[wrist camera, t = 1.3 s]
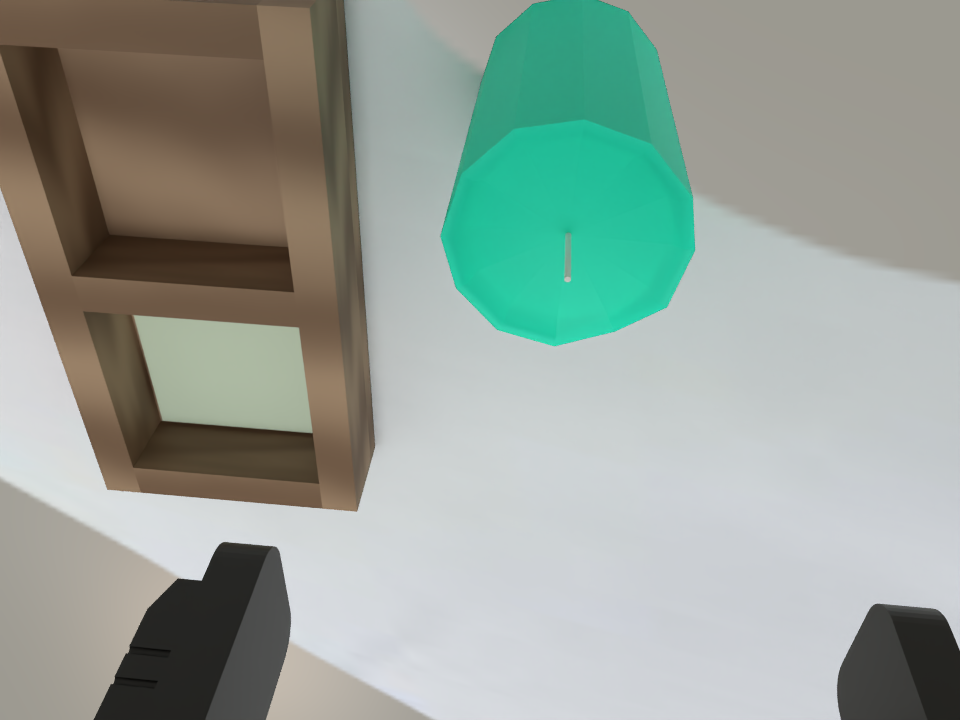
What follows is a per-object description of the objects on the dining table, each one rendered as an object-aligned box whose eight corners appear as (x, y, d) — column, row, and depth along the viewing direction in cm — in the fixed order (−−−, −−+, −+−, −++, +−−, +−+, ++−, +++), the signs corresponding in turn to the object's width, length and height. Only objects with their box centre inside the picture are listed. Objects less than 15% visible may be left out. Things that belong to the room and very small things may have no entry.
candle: (476, 164, 30) (430, 372, 20) (486, -14, 26) (434, 138, 17) (644, 180, 30) (677, 396, 20) (678, 1, 26) (737, 164, 16)
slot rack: (5, -44, 27) (-71, -13, 24) (341, -27, 26) (309, 8, 23) (144, 427, 39) (107, 489, 36) (375, 447, 39) (357, 511, 36)
